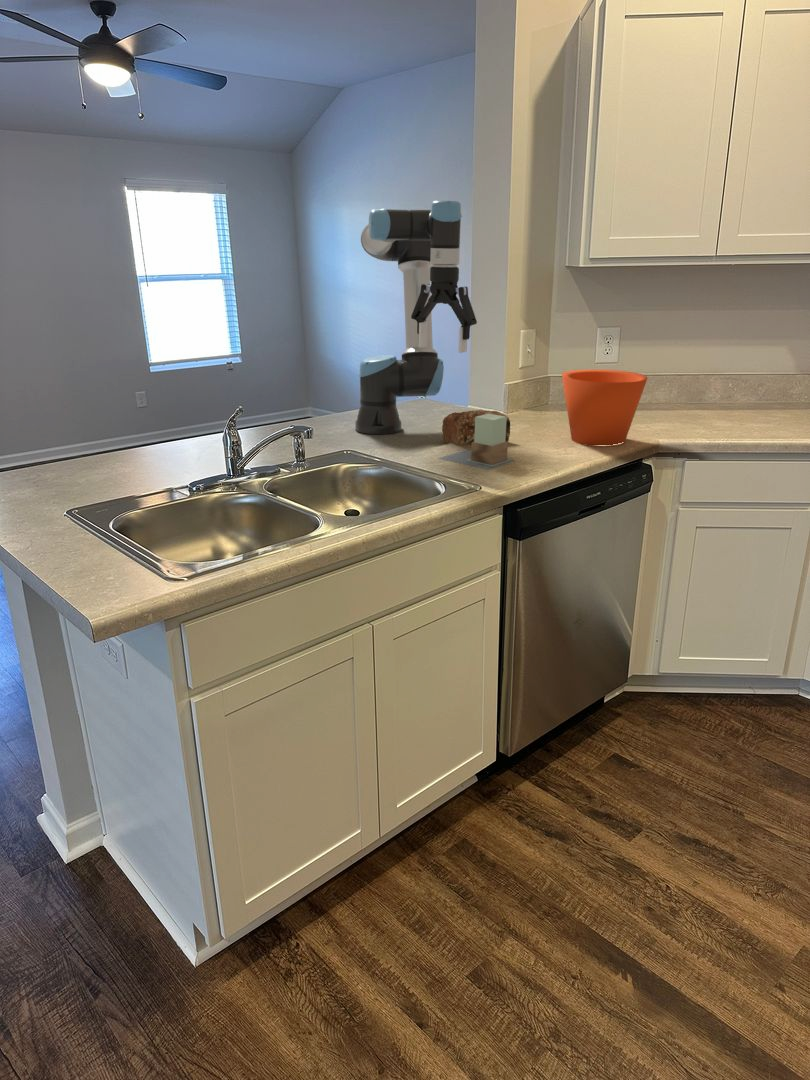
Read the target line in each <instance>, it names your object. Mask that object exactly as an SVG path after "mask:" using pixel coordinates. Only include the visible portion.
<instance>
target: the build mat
mask: <svg viewBox="0 0 810 1080" xmlns="http://www.w3.org/2000/svg"><path fill="white" fill-rule="evenodd" d="M437 459H438V460H443V461H447V462H448V461H449V462H451V463H457V464H461V465H464V466H470V467H474V468H477V469H481V470H482V469H483V470H487V471H489V470H492V469H494V468H498V467H501V466H504V465H506V464H510V463H513V462H515V461H517V460H516V459H512V458H508V457H507V460H505V461H502V462H499V463H496V464H493V465H490V464H485V463H481V462H476V461H472V460H471V449H465V450H460V451H459V452H455V453H451V454H448V455H447V454H446V455H444V456H441V457H438V458H437Z"/></svg>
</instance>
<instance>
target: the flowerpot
mask: <svg viewBox="0 0 810 1080" xmlns="http://www.w3.org/2000/svg"><path fill="white" fill-rule="evenodd" d="M561 377H562V383H563V390H564V397H565V404H566V410H567V411H566V412H567V418H568V425H569V432H570V438H571V441H573V442H574V443H576V444H579V443H580V445H583V444H587V445H586V446H589V445H613V444H618V443H622V442H624V441H625V442H626V440H627V437H628V434H629V431H630V429H631V426H632V423H633V421H634V420H633V419H634V417H635V414H636V412H637V409H638V406H639V404H640V401H641V399H642V398H641V397H642V395H643V393H644V389H645V387H646V384H647V381H648V375H645V374H643V373H638V372H633V371H626V370H625V371H624V370H616V369H615V370H614V369H575V370H568V371H564V372H563V373H561Z"/></svg>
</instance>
